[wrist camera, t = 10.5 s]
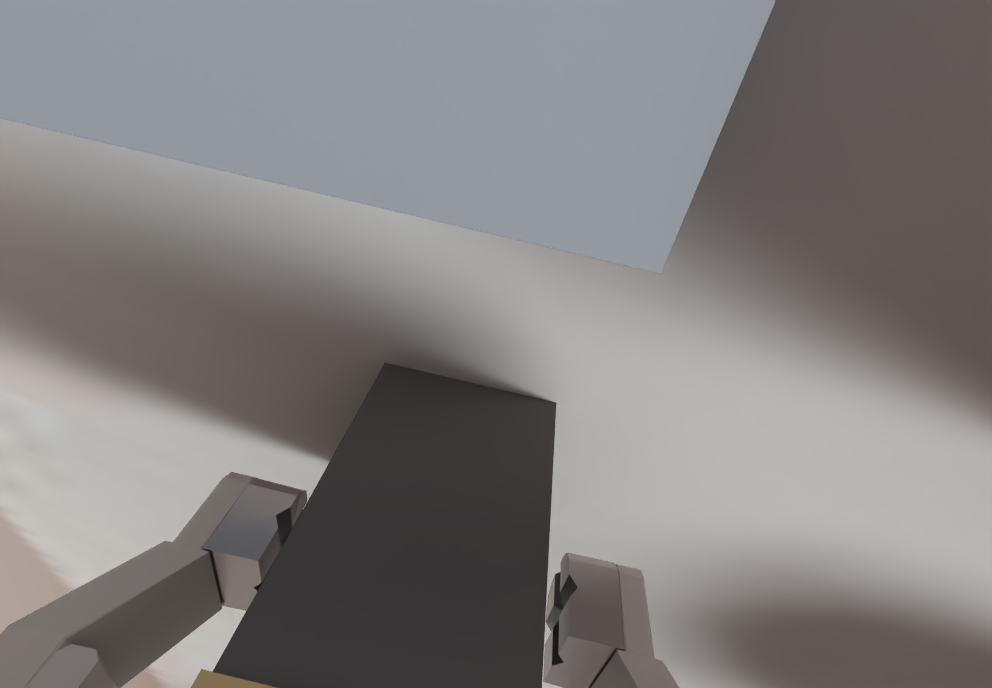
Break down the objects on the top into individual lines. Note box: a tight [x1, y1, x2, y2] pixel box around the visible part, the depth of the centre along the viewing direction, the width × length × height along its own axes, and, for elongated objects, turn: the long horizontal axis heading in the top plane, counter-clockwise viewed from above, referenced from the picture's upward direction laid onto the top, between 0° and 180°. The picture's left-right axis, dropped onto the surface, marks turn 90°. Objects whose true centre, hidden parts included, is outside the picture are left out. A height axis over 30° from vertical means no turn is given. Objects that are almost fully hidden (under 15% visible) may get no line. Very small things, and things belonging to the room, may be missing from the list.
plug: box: [191, 363, 556, 688], centre depth 9 cm, size 4×4×7 cm
